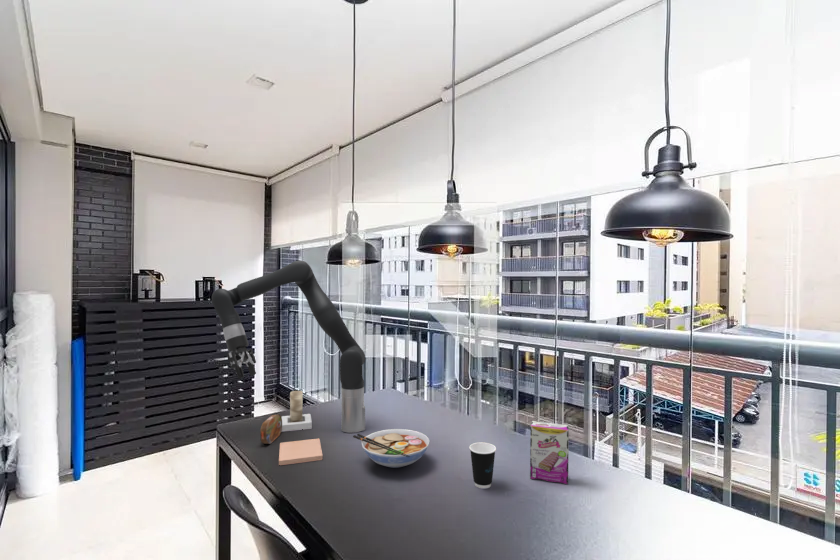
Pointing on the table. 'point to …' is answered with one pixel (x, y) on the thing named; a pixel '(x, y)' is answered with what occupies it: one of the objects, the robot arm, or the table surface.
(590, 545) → the table surface
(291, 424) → the pocket block
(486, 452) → the dixie cup
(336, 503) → the table surface
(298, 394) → the maple plug
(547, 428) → the candy bar box
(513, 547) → the table surface
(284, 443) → the terracotta tile
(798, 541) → the table surface
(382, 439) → the ramen bowl
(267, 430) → the tin
